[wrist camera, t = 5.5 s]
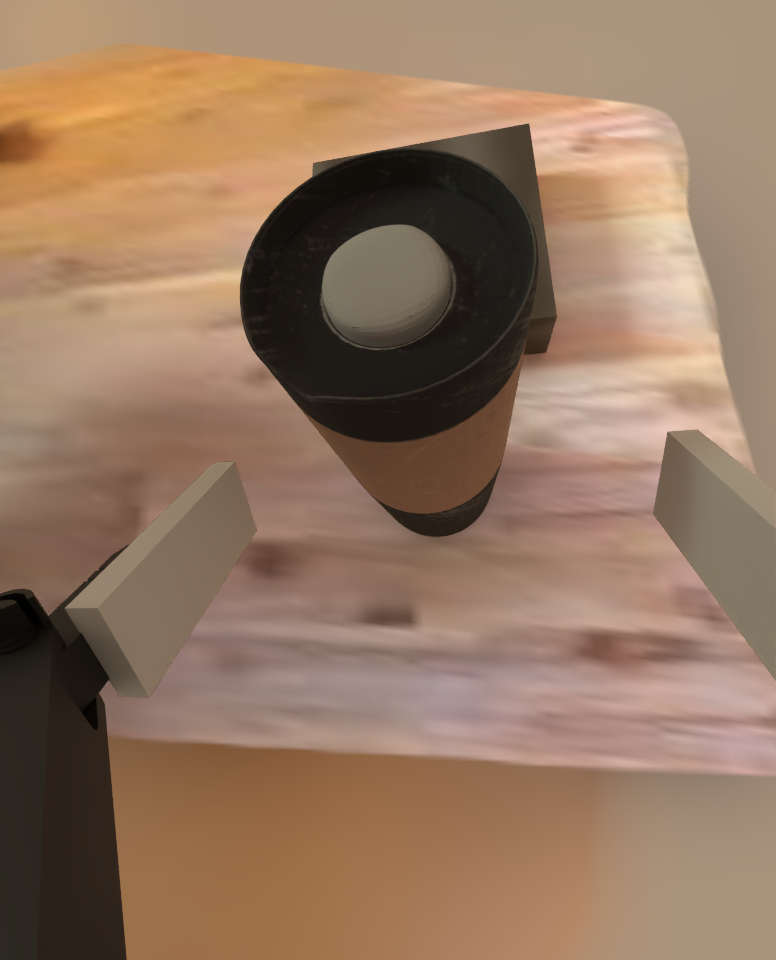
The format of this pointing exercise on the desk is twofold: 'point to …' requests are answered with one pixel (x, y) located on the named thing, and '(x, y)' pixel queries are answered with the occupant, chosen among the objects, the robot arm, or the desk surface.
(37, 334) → the desk surface
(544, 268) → the stand
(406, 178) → the travel mug
